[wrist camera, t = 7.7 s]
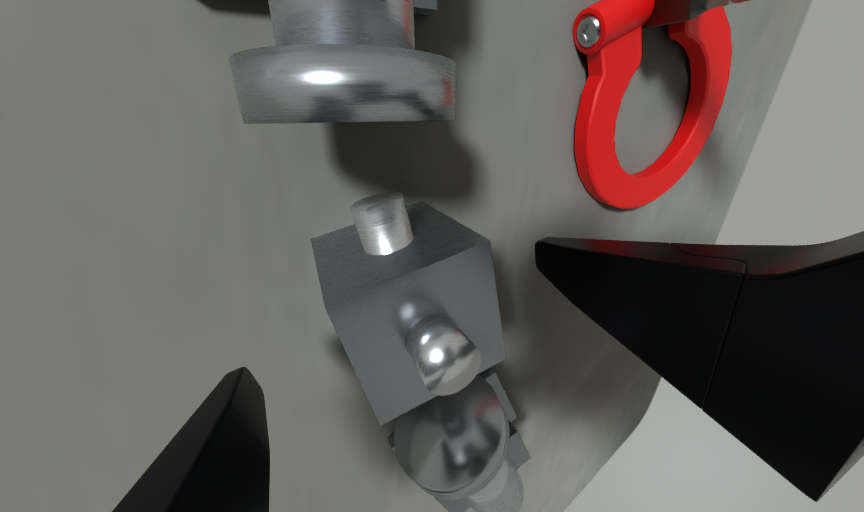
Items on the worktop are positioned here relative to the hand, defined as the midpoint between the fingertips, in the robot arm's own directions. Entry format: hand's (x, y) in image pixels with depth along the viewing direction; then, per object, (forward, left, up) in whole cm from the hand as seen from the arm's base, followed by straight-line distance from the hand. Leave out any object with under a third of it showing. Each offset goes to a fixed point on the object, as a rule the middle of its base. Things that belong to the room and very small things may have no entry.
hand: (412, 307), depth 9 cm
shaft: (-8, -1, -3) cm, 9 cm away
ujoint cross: (0, 0, -3) cm, 3 cm away
